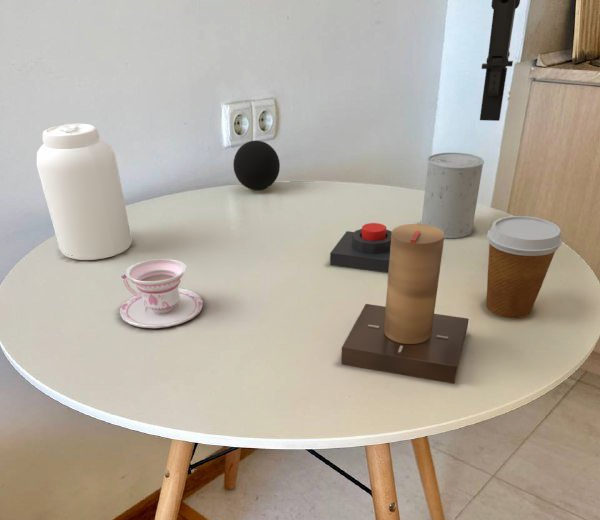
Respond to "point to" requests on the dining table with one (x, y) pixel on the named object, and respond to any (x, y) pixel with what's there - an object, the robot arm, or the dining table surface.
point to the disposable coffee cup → (518, 263)
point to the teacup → (158, 295)
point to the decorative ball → (256, 165)
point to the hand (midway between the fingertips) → (489, 119)
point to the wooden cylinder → (412, 282)
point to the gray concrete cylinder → (452, 193)
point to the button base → (362, 252)
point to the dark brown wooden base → (406, 347)
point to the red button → (374, 231)
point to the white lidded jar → (83, 192)
